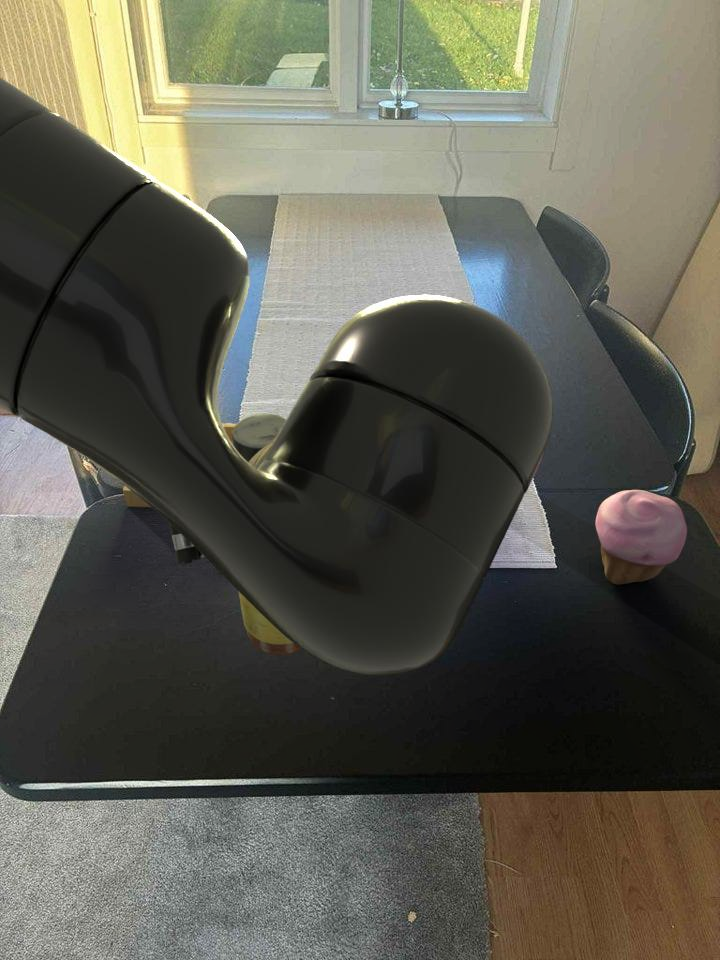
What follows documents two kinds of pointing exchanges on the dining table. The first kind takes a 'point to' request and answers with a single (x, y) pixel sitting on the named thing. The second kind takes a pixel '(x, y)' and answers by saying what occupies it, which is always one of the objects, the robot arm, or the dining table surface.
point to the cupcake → (639, 535)
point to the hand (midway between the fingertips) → (269, 523)
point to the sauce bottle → (261, 632)
